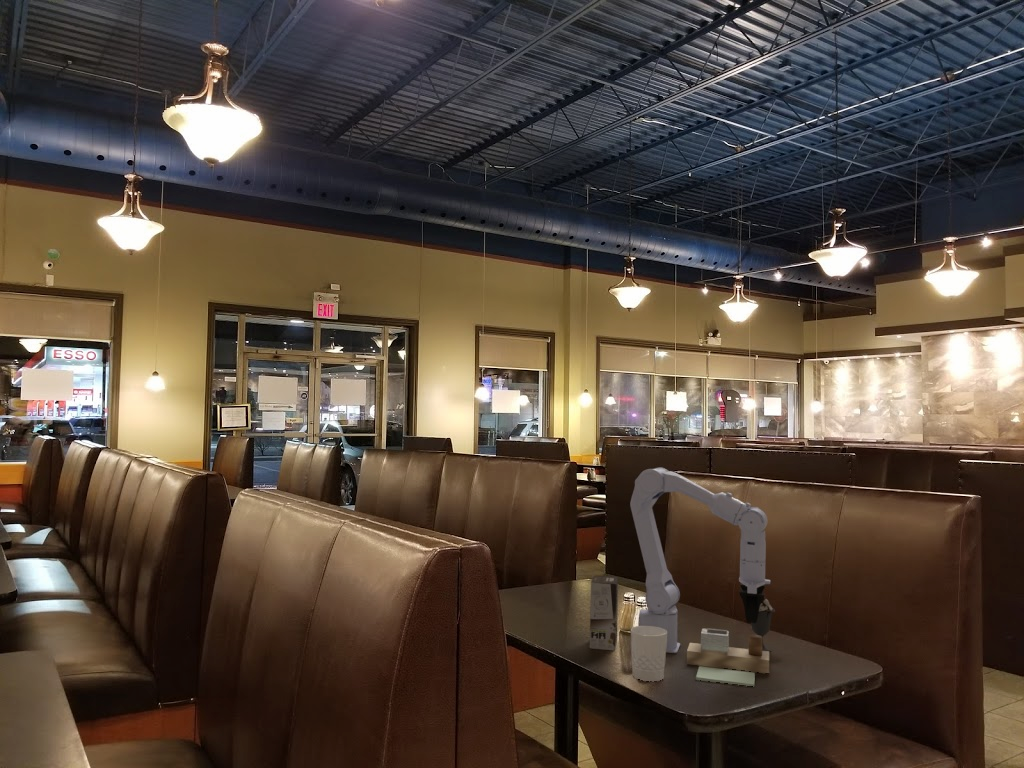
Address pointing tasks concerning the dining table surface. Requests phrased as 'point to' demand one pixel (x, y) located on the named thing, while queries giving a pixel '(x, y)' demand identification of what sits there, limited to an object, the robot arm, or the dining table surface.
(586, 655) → the dining table surface
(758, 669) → the panel with round knob
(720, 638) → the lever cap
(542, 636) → the dining table surface
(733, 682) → the board
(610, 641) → the coffee box
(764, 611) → the sundae
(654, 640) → the white cup
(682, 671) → the dining table surface
